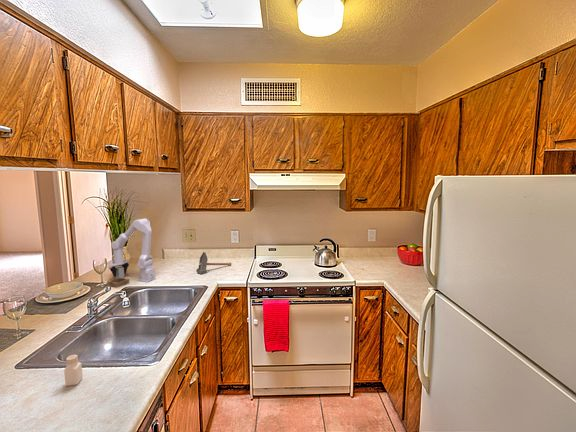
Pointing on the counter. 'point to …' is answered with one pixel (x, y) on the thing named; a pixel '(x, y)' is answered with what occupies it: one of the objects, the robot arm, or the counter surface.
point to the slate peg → (120, 272)
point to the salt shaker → (73, 371)
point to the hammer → (204, 264)
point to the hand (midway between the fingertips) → (119, 275)
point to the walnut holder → (118, 282)
